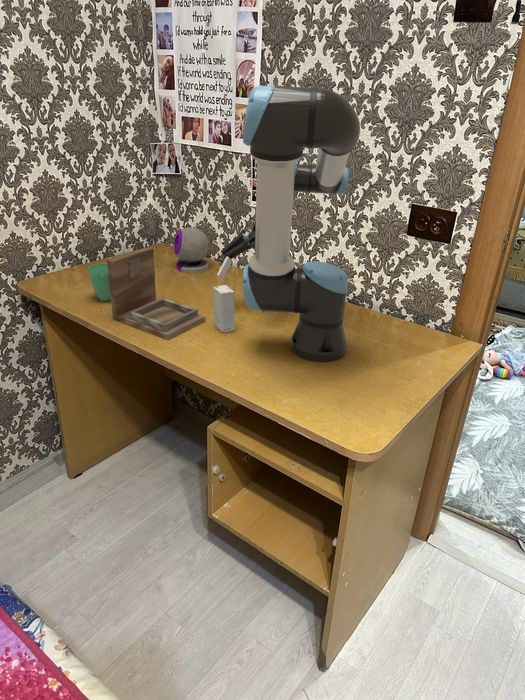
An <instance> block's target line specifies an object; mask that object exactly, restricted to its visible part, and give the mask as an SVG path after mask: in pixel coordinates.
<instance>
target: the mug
mask: <svg viewBox="0 0 525 700" xmlns="http://www.w3.org/2000/svg"><path fill="white" fill-rule="evenodd" d="M87 273H88V276H89V279H90V282H91V284H92V288H93V290H94V292H95V294H96V295H97V298H98V299H99V301H102V302H108V301H109V300H110V301H111V295H110V285H109V275H108V265H107V262H106V263H104V262H103V263H98V264H97V263H95V264H92V265H90V266H89V267H88V268H87Z"/></svg>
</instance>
